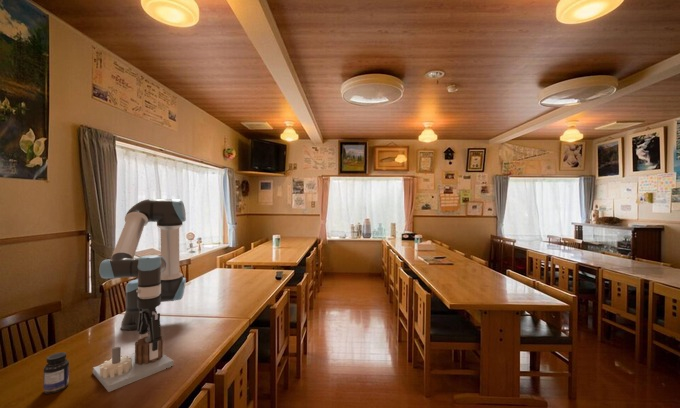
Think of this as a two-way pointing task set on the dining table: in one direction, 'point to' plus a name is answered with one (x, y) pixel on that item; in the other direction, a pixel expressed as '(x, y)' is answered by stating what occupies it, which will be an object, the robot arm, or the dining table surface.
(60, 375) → the pill bottle
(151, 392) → the dining table surface
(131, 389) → the dining table surface
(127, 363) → the gear board
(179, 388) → the dining table surface
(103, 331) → the dining table surface
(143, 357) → the walnut gear
